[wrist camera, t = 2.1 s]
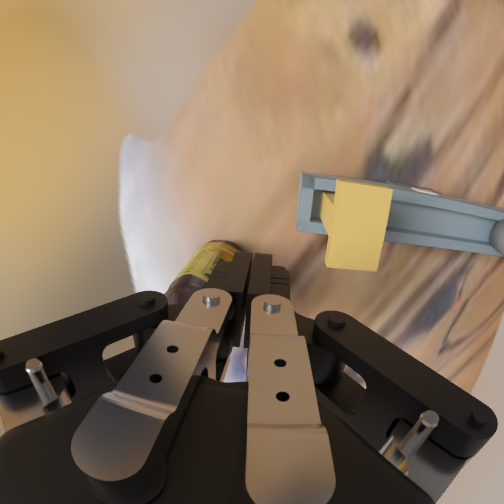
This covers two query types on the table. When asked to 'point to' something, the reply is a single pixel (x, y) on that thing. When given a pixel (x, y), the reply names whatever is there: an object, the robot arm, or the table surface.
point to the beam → (415, 216)
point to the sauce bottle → (199, 270)
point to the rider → (355, 224)
